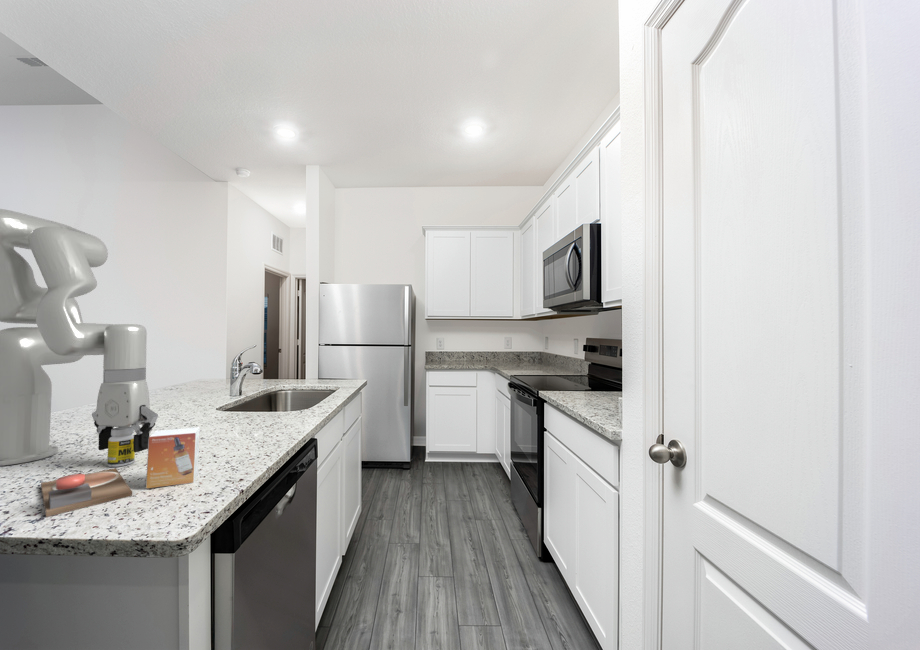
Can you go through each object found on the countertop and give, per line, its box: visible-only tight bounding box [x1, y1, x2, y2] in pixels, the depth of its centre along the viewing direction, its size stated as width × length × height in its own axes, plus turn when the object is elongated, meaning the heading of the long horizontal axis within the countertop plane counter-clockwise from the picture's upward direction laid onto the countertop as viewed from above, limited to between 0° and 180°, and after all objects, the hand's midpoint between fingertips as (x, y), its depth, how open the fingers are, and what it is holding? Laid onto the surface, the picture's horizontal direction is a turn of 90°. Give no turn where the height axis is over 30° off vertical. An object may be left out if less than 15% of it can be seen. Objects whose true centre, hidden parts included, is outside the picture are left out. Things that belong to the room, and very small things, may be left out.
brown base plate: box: [40, 467, 133, 518], centre depth 73 cm, size 18×11×2 cm, turn 50°
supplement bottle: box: [107, 426, 136, 468], centre depth 87 cm, size 5×5×8 cm
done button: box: [55, 473, 86, 490], centre depth 67 cm, size 4×4×1 cm
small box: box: [145, 426, 201, 489], centre depth 78 cm, size 8×6×10 cm
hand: (124, 449), depth 87 cm, fingers open, 9 cm apart
